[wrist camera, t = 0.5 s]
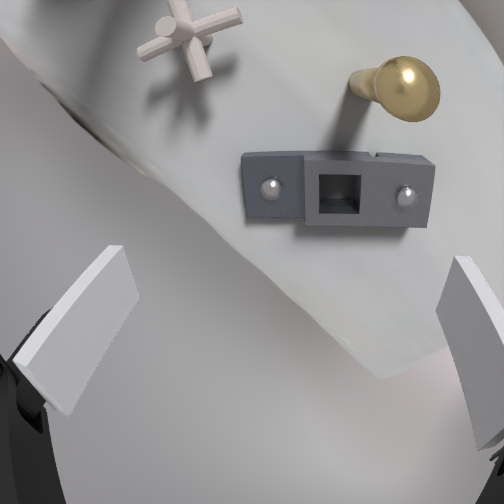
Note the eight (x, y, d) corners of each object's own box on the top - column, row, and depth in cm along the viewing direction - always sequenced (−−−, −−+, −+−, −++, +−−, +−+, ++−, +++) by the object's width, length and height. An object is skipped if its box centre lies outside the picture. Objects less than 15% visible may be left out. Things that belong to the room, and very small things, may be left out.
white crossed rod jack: (263, 65, 27) (246, 58, 19) (176, 93, 30) (130, 103, 21) (235, -14, 22) (208, -46, 14) (151, 20, 25) (100, 8, 17)
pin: (342, 64, 26) (376, 52, 13) (380, 67, 25) (439, 61, 12) (344, 101, 28) (378, 119, 15) (381, 103, 27) (439, 125, 14)
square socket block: (244, 152, 32) (235, 164, 28) (422, 155, 29) (438, 168, 25) (250, 210, 36) (242, 229, 32) (415, 212, 33) (428, 231, 28)
